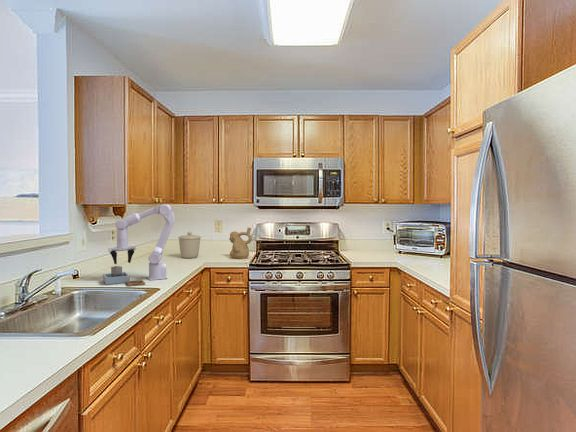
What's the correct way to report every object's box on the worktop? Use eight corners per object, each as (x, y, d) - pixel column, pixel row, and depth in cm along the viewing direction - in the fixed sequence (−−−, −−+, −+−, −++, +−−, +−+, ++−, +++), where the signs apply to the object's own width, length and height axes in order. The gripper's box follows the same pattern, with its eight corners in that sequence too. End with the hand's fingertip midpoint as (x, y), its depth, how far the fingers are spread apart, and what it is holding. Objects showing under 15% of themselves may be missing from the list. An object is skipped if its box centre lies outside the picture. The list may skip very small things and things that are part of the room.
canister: (196, 255, 318) (196, 230, 317) (204, 258, 303) (204, 232, 302) (175, 256, 308) (175, 231, 308) (181, 259, 293) (181, 232, 293)
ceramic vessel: (233, 256, 318) (233, 226, 317) (255, 257, 313) (255, 227, 312) (224, 258, 302) (224, 227, 301) (247, 260, 296) (247, 228, 295)
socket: (141, 282, 212) (141, 279, 212) (145, 284, 205) (145, 282, 205) (125, 283, 207) (125, 281, 207) (128, 286, 200) (128, 284, 200)
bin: (125, 279, 219) (125, 272, 219) (129, 282, 209) (129, 275, 209) (102, 281, 213) (102, 274, 213) (105, 285, 203) (105, 277, 202)
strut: (117, 280, 213) (117, 265, 213) (122, 280, 211) (122, 266, 211) (111, 281, 210) (111, 266, 210) (115, 282, 208) (115, 267, 208)
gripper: (111, 241, 209) (111, 265, 210) (137, 239, 219) (137, 262, 219) (107, 240, 215) (107, 263, 215) (133, 238, 224) (133, 261, 225)
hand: (122, 263), depth 218 cm, fingers open, 7 cm apart
